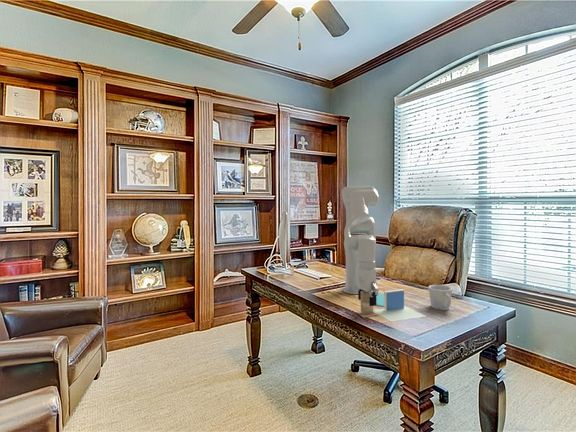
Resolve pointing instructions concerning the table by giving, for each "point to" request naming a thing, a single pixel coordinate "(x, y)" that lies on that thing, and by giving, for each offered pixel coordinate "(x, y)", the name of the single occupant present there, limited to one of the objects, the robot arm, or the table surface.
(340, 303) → the table surface
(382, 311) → the board
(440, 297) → the mug
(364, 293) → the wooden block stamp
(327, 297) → the table surface
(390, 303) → the tile
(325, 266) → the table surface
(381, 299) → the plaque
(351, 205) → the robot arm
